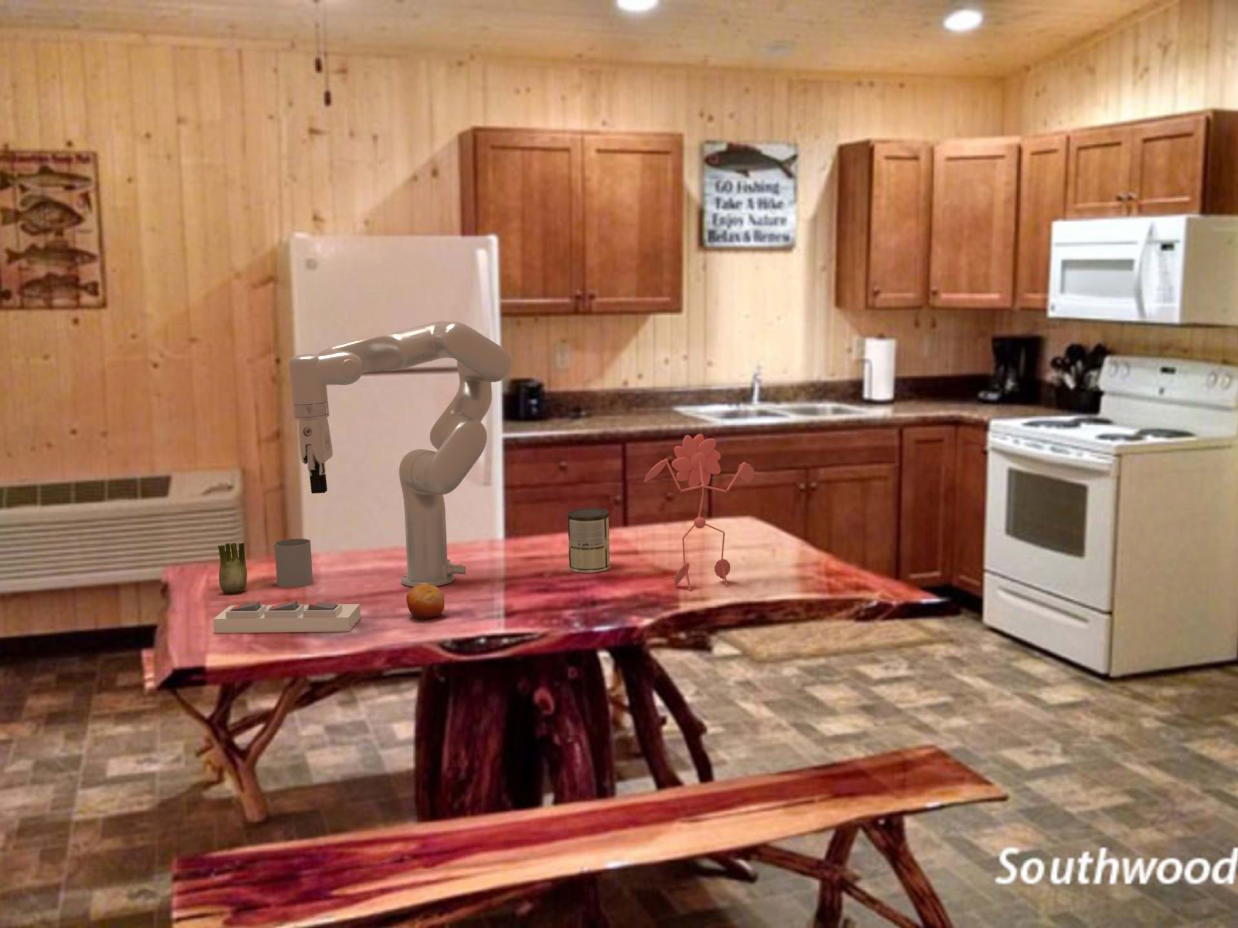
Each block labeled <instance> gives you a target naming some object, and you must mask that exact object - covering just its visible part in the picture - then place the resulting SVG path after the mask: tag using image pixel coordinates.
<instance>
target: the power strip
mask: <svg viewBox="0 0 1238 928" xmlns="http://www.w3.org/2000/svg"><path fill="white" fill-rule="evenodd" d="M336 604H337V606H336V608H335V609H334V610H308V607H309V604H300V603H298V605H299V606H298V607H297V608H296V609H295V610H292V611H270V609H271V608H273V607H274V606H275V605H276V604H270V605H269V604H260V606H261V607H260V608H259V609H258V610H257V611H231V610H232V609H233V608H234V607H235V606H237V604H234V605H228V606H227V607H226V609H224V610H222V611H221V612H220V613H219V614H218V615H216V616H215V617H214V618H213V632H214V634H240V633H243V634H245V633H247V634H248V633H251V634H253V633H255V634H256V633H318V632H319V633H321V632H322V633H324V632H326V633H327V632H328V633H332V632H333V633H334V632H336V633H337V632H338V633H339V632H340V633H341V632H350V631H351V630H352V629H353V628H354V626H355V625H356V624H357V623H358V622H359V620H360V619H361V616H362V615H361V614H362V613H361V604H360V603H345V604H344V603H343V604H342V603H336ZM355 623H356V624H355Z"/></svg>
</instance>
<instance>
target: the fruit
mask: <svg viewBox="0 0 1238 928" xmlns="http://www.w3.org/2000/svg"><path fill="white" fill-rule="evenodd" d="M405 598H406V599H405V600H406V604H407V608H408V611H409V612H410V614H409V616H411V615H412V616H413V617H415V618H417V619H419V620H421V621H423V620H422V619H425V620H427V619H432V618H435V617H438V616H440V615H441V614H442V613H443V612H444V611H445V610H444V609H445V594H444V592H443V591H442V590H440V588H439V586H432V585H430V584H427V583H423V584H419V585H417V586H415V587H411V589H410V590H409V591H408V593H407V594H406V597H405Z"/></svg>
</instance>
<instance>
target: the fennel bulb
mask: <svg viewBox="0 0 1238 928" xmlns="http://www.w3.org/2000/svg"><path fill="white" fill-rule="evenodd" d="M217 547H218V554H219V570H218V571H219V573H218V582H219V587H220V590H221V591H222V592H223V593H225V594H237V593H241V592H243V591H245V589H246V587H247V583H248V582H247V581H248V570H247V569H248V568H247V563H246V552H245V550H246V549H245V542H244V541H243V542H239V543H238V547H237V542H231V543H230V542H226V543H225V544H224V543H223V544H222V543H221V544H218V545H217Z"/></svg>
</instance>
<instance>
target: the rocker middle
mask: <svg viewBox="0 0 1238 928" xmlns="http://www.w3.org/2000/svg"><path fill="white" fill-rule="evenodd" d="M274 605H275V606H274V607H273V608H271V609H270V611H292V610H295V609H296V608H297V607H298V606H299V602H298V600H293V601H290V602H285V603H281V604H274Z"/></svg>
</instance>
